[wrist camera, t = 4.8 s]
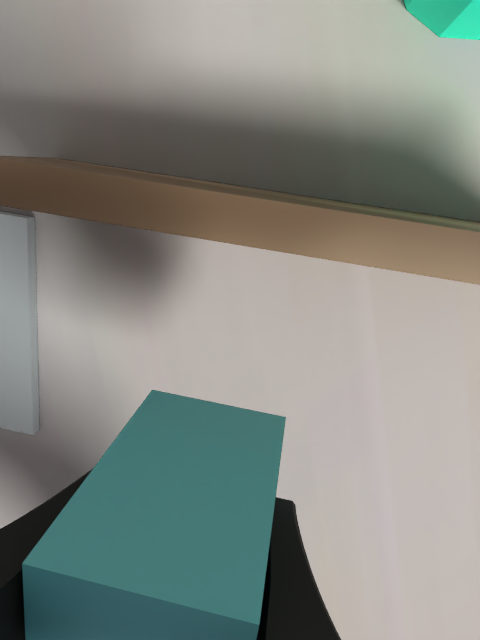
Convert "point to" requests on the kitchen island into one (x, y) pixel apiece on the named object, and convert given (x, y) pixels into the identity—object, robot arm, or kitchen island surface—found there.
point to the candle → (448, 17)
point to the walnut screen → (246, 216)
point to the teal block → (163, 531)
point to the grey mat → (18, 325)
